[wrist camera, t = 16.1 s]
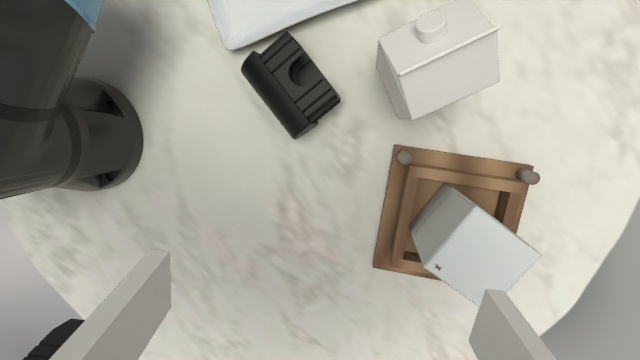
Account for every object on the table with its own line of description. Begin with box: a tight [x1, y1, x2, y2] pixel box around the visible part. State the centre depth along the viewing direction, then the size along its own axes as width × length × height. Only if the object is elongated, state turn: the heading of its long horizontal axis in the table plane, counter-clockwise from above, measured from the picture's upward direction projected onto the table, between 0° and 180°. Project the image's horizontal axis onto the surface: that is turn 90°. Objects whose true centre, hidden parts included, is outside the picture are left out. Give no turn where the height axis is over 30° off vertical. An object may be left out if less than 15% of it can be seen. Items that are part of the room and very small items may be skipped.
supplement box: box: [409, 183, 541, 307], centre depth 37 cm, size 7×7×13 cm
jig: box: [373, 145, 540, 281], centre depth 43 cm, size 16×16×4 cm
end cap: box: [241, 31, 341, 139], centre depth 41 cm, size 10×7×7 cm
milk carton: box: [376, 0, 502, 120], centre depth 33 cm, size 7×7×19 cm
